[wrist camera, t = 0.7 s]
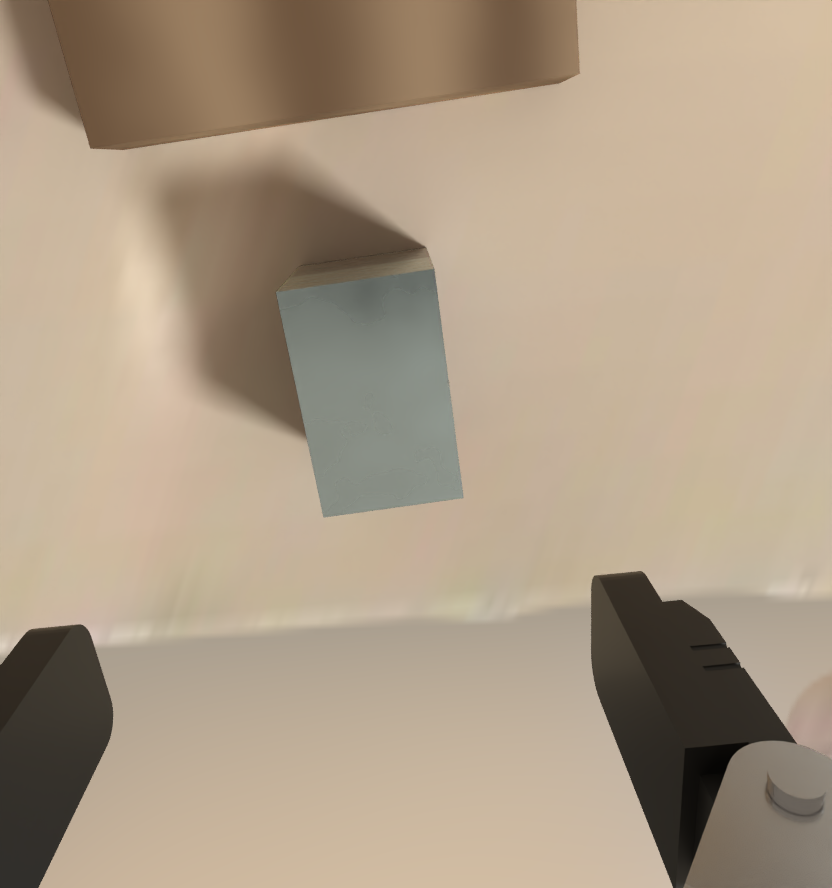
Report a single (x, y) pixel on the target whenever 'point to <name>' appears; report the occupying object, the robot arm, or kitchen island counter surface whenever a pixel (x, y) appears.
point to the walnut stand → (296, 60)
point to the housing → (372, 381)
